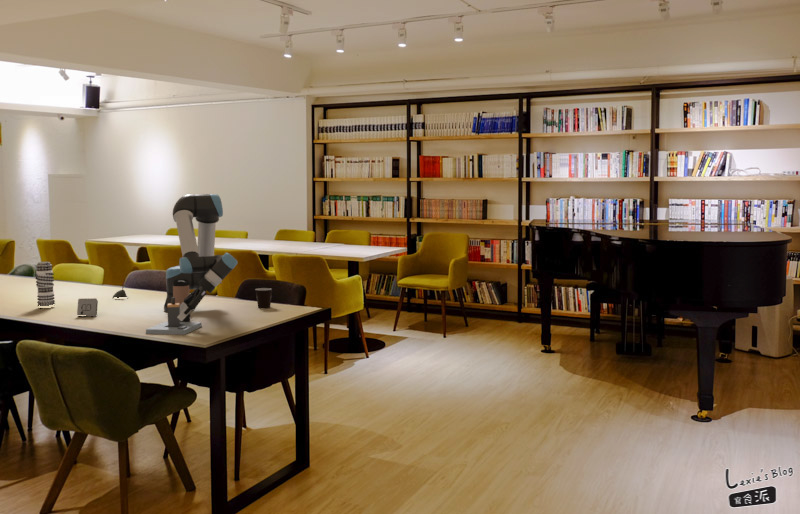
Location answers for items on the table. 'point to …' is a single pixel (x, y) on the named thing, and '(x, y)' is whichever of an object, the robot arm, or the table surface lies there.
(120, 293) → the sword in stone
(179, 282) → the travel mug
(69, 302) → the table surface
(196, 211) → the robot arm
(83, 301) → the electrical switch
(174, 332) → the socket plate
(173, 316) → the plug
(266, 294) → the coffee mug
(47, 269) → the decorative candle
